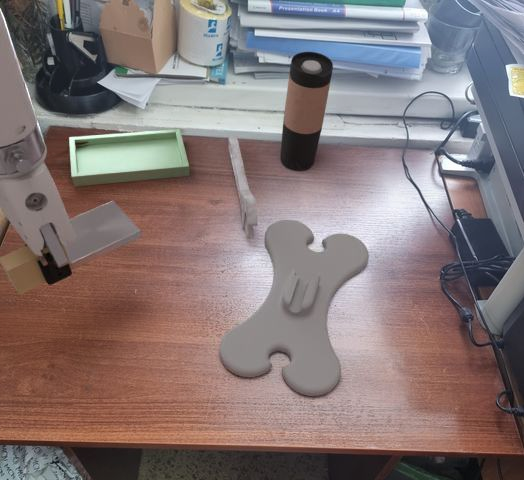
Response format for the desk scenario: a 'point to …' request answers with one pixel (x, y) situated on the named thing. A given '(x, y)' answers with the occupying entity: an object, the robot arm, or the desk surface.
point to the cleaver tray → (128, 157)
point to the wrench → (243, 189)
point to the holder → (296, 309)
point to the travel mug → (305, 109)
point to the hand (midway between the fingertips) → (53, 269)
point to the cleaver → (75, 245)
